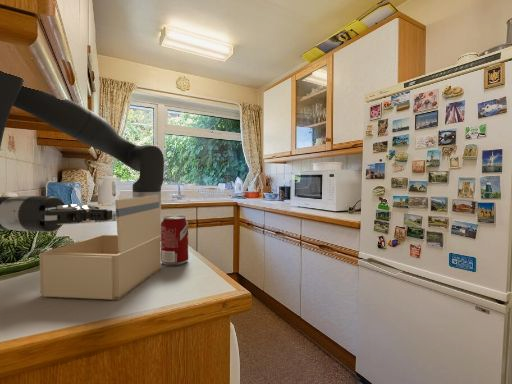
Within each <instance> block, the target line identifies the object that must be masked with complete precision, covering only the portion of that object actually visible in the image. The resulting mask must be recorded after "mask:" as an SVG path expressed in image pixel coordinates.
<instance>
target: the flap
mask: <svg viewBox="0 0 512 384" xmlns="http://www.w3.org/2000/svg"><path fill="white" fill-rule="evenodd" d="M114 201H115V202H114V203H115V217H116V218H115V219H116V233H117V234H116V235H117V236H118V251H119V253H123V252H125V251H127V250H130V249H132V248H134V247H136V246H138V245H140V244H143V243H145V242H147V241H149V240H151V239H154V238H156V237H158V236H160V235H161V228H160V211H159V195H154V196H145V197H137V198H133V197H129V198H121V199H115V200H114Z"/></svg>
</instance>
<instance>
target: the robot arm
mask: <svg viewBox="0 0 512 384" xmlns="http://www.w3.org/2000/svg"><path fill="white" fill-rule="evenodd" d="M23 82H24V80H23V79H22V78H20V77H17V76H14V75H11V74H7V73H4V72H2V71H0V148H2V142H3V137H4V133H5V129H6V125H7V122H8V119H9V115H10V113H11V111H12V108H13V107H14V108H17V109H18V110H21V111H24V112H26V113H27V114H29V115H31V116H33V117H35V118H37V119H39V120H40V121H42V122H44V123H46V124H47V125H49V126H51V127H52V128H55V129H56V130H58V131H59V132H61V133H63V134H65V135H67V136H70V137H71V138H73V139H75V140H77V141H78V142H81V143H83V144H85V145H87V146H89V147H91V148H93V149H96V150H97V151H100V152H102V153H104V154H107V155H109V156H111V157H113V158H115V160H118V161H120V163H122V164H123V165H125V166H127V167H129V168H130V169H131V170H134V171H136V172H139V177H138V179H137V180H136V181H134V182H133V184H132V198H137V197H145V196H154V195H159V211H160V228H161V223H162V186H163V184H164V175H165V157H164V154H163V151H162V150H161V148H160V147H159V146H156V145H153V144H146V145H138V144H136V143H133V142H132V141H129V140H127V139H126V138H124V137H123V136H121V135H120V134H119V133H117V131H116V129H114V127H113V126H112V125H111V124H110V123H109V121H107V119H105V118H103V117H102V116H100V115H98V114H97V113H95V112H94V111H92V110H90V109H89V108H87V107H85V106H84V105H81V104H79V103H77V102H75V101H72V100H70V99H67V98H65V100H60V99H57V98H56V97H55V96H54V95H55V94H54V95H52V94H53V93H52V94H49V93H50V92H49V93H46V92H43V91H39V90H35V89H31V88H27V87H24V86H22V85H23ZM111 220H113V210H112V209H110V208H105V209H103V208H100V207H98V206H95V205H90V204H89V205H77V204H75V203H74V204H73V203H67V204H65V203H64V201H63V200H62V198H61V199H60V198H59V197H57V196H53V195H51V196H50V195H20V196H0V230H11V231H12V230H13V231H19V232H45V233H47V232H50V233H51V232H54V231H57V230H59V229H60V228H61V226H63V225H67V224H68V225H69V224H75V225H76V224H81V223H85V222H86V223H87V222H91V221H92V222H93V221H100V222H101V221H103V222H104V221H105V222H106V221H111ZM160 241H161V235H160Z"/></svg>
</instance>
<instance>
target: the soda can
mask: <svg viewBox="0 0 512 384" xmlns="http://www.w3.org/2000/svg"><path fill="white" fill-rule="evenodd" d="M162 217H163V220H161V240H160V241H161V264H164V265H166V266H169V267H170V266H171V267H174V266H175V267H176V266H182V265H184V264H185V263H186V262H188V261H189V222H188V220H187V219H186V218H187V217H186V215H183V214H182V215H178V214H177V215H175V214H174V215H172V214H171V215H165V216H162Z"/></svg>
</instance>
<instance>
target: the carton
mask: <svg viewBox="0 0 512 384" xmlns="http://www.w3.org/2000/svg"><path fill="white" fill-rule="evenodd" d="M38 256H39V283H40V284H39V286H40V294H41V297H42V298H43V297H44V298H61V299H84V300H85V299H86V300H103V301H104V300H105V301H107V300H109V301H120V300H121V299H123V298H124V297H125V296H127V295H128V294H130V293H131V292H132V291H133V290H135V289H136V288H138V287H140V285H142V284H143V283H144V282H146V281H147V280H148V279H150V278H151V277H152V276H154V275H155V274H157V273H158V272H159V271H161V270H162V269H161V267H162V266H161V264H162V262H161V240H160V236H158V237H156V238H154V239H151V240H149V241H147V242H145V243H143V244H140V245H138V246H136V247H134V248H132V249H130V250H127V251H125V252H123V253H119V251H118V236H117V234H100V235H96V236H93V237H89V238H86V239H82V240H80V241H79V240H78V241H76V242H73V243H69V244H65V245H63V246H59V247H56V248H52V249H49V250H47V251H43V252H40V253H39V255H38Z"/></svg>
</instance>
